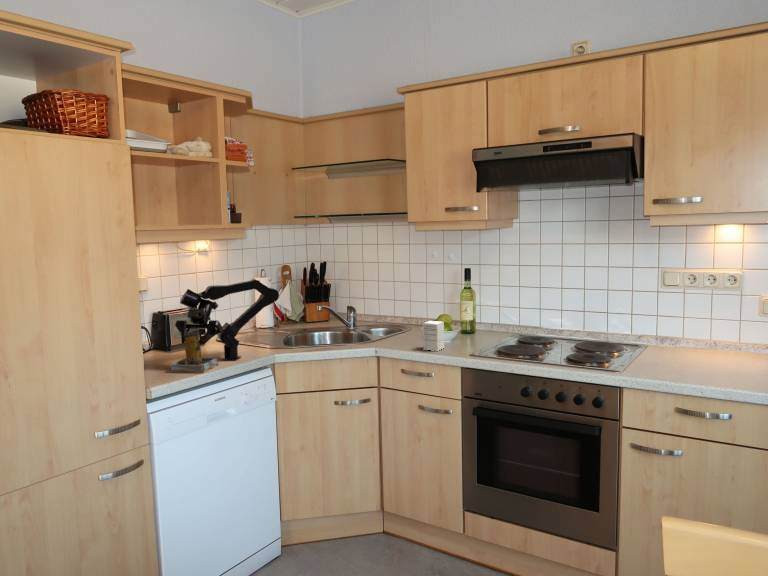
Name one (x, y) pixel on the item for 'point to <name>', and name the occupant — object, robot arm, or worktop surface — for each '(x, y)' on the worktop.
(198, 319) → the robot arm
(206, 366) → the grey square frame
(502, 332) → the worktop surface
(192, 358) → the condiment
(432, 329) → the supplement box
